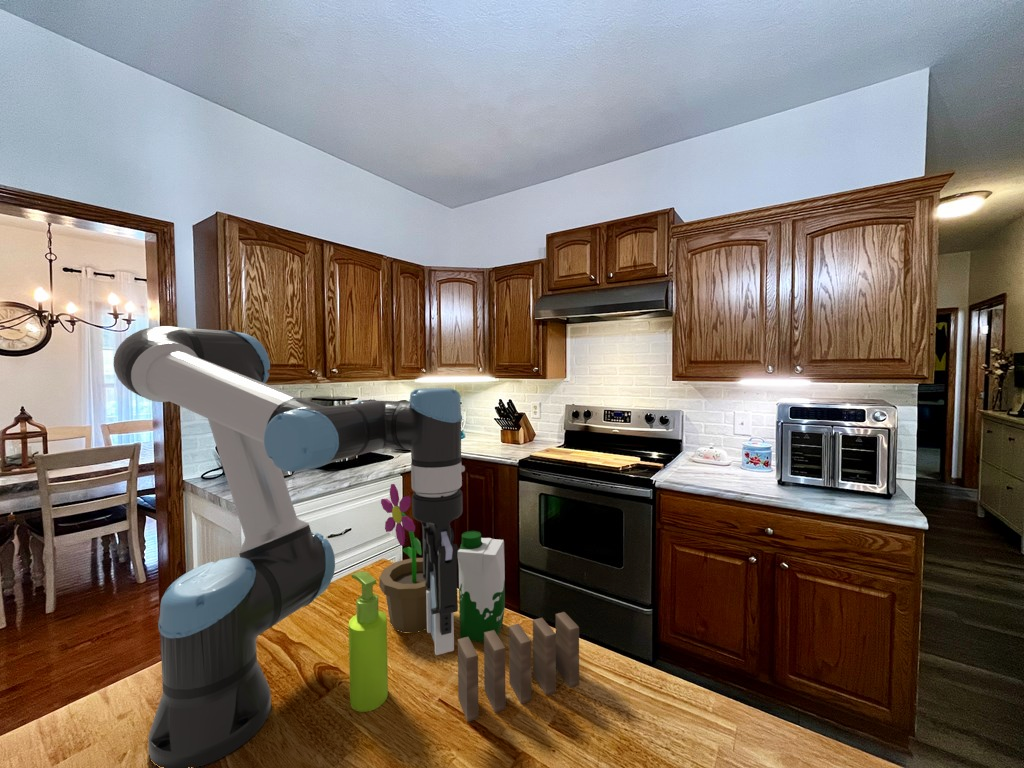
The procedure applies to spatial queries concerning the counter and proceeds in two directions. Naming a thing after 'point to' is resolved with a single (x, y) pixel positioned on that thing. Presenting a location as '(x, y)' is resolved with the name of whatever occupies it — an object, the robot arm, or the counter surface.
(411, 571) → the flowerpot
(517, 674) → the domino
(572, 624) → the domino
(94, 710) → the counter surface
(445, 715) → the counter surface
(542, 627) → the domino
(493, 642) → the domino
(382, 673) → the soap dispenser
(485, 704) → the counter surface
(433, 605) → the domino
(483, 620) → the milk carton
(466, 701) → the domino
